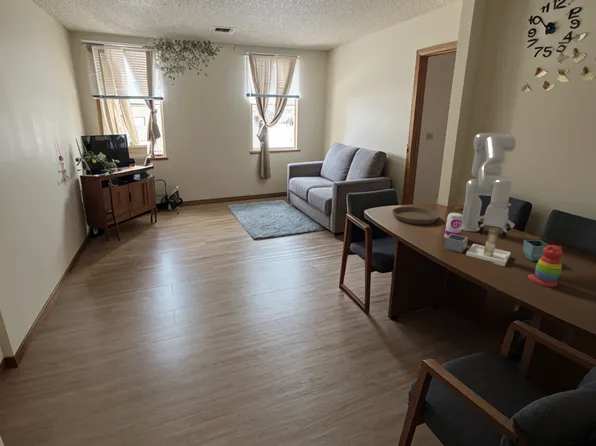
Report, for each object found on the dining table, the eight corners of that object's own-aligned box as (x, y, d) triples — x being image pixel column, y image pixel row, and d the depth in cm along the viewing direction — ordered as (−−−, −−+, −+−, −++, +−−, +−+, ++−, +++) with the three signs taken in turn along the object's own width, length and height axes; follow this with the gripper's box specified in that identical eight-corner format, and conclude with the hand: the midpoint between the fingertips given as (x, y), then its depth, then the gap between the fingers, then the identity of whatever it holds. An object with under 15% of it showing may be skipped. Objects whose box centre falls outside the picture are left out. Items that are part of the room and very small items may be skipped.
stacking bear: (549, 277, 166) (559, 241, 161) (563, 288, 157) (575, 250, 151) (525, 276, 167) (534, 240, 161) (538, 287, 157) (548, 249, 151)
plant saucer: (396, 209, 266) (397, 203, 264) (441, 215, 253) (442, 209, 252) (387, 221, 239) (387, 214, 238) (436, 229, 227) (437, 222, 225)
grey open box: (449, 244, 202) (450, 233, 199) (466, 248, 196) (468, 237, 194) (444, 249, 195) (446, 237, 193) (461, 254, 190) (463, 242, 187)
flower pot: (519, 255, 190) (523, 239, 187) (536, 255, 189) (540, 240, 186) (529, 262, 181) (533, 246, 178) (547, 263, 181) (551, 246, 178)
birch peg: (484, 252, 190) (490, 227, 185) (493, 254, 187) (500, 229, 183) (482, 254, 186) (488, 229, 182) (491, 257, 184) (498, 231, 179)
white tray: (472, 247, 198) (473, 243, 197) (509, 256, 188) (510, 252, 187) (465, 256, 187) (466, 252, 186) (504, 266, 176) (505, 261, 176)
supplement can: (460, 242, 206) (465, 217, 201) (445, 240, 207) (449, 216, 202) (457, 237, 213) (461, 212, 208) (443, 235, 215) (446, 211, 210)
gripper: (519, 205, 176) (512, 238, 181) (481, 199, 186) (475, 230, 191) (517, 209, 170) (509, 242, 176) (478, 202, 180) (471, 234, 186)
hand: (491, 236), depth 183 cm, fingers open, 9 cm apart
